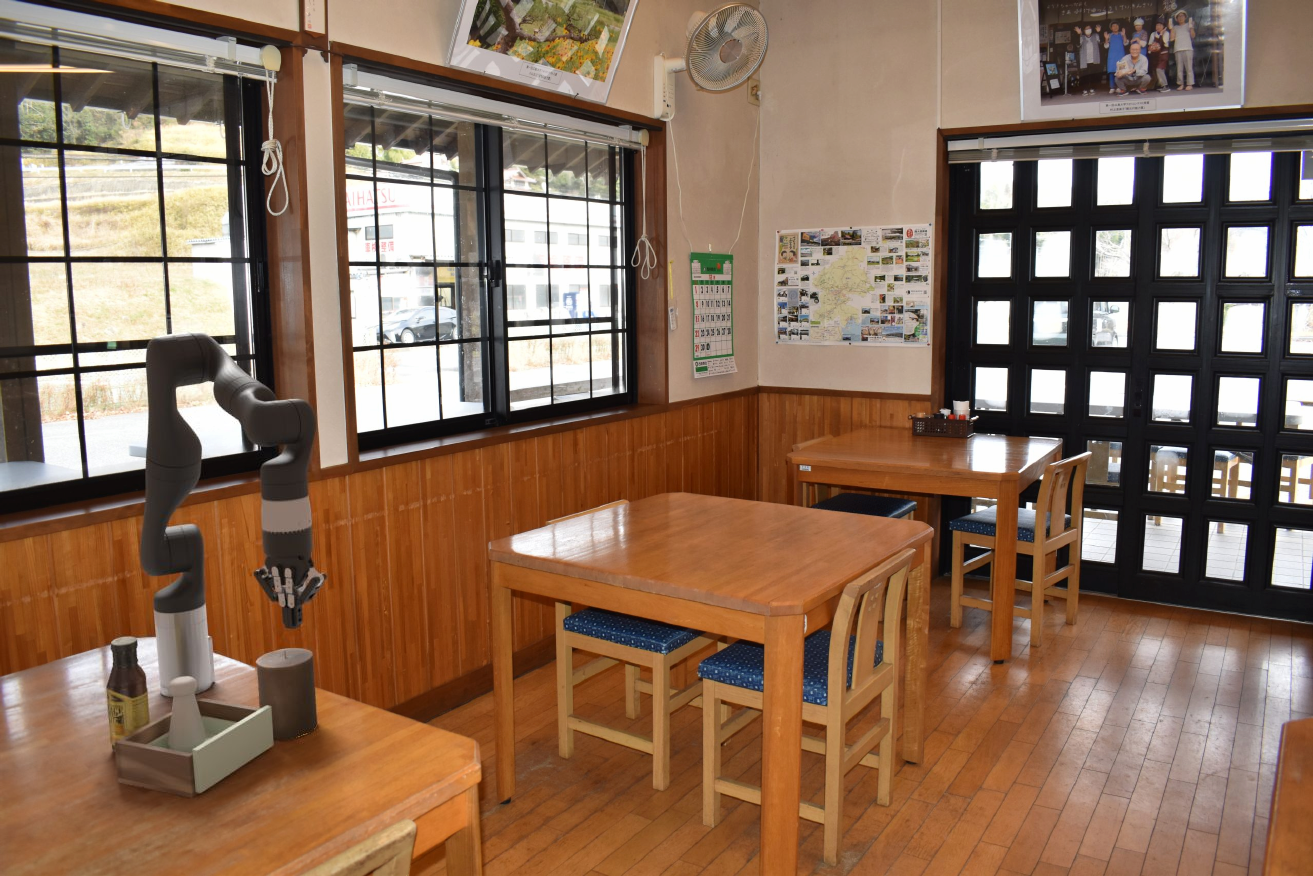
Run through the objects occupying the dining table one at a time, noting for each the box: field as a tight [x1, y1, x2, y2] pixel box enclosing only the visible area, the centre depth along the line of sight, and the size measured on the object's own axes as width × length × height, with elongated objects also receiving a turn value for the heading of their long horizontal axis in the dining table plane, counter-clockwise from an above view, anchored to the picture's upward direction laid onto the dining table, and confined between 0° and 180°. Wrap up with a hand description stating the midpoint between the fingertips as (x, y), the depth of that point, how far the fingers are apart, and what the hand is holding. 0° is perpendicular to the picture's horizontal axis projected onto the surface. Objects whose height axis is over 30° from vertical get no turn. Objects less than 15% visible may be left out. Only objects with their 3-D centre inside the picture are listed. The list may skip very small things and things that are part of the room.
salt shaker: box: [168, 676, 206, 754], centre depth 165 cm, size 6×6×13 cm
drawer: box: [146, 705, 274, 794], centre depth 165 cm, size 17×15×7 cm
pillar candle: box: [255, 647, 318, 741], centre depth 178 cm, size 10×10×15 cm
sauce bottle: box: [105, 636, 151, 753], centre depth 170 cm, size 7×6×20 cm
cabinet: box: [114, 697, 261, 799], centre depth 165 cm, size 18×15×7 cm
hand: (293, 627), depth 160 cm, fingers closed
